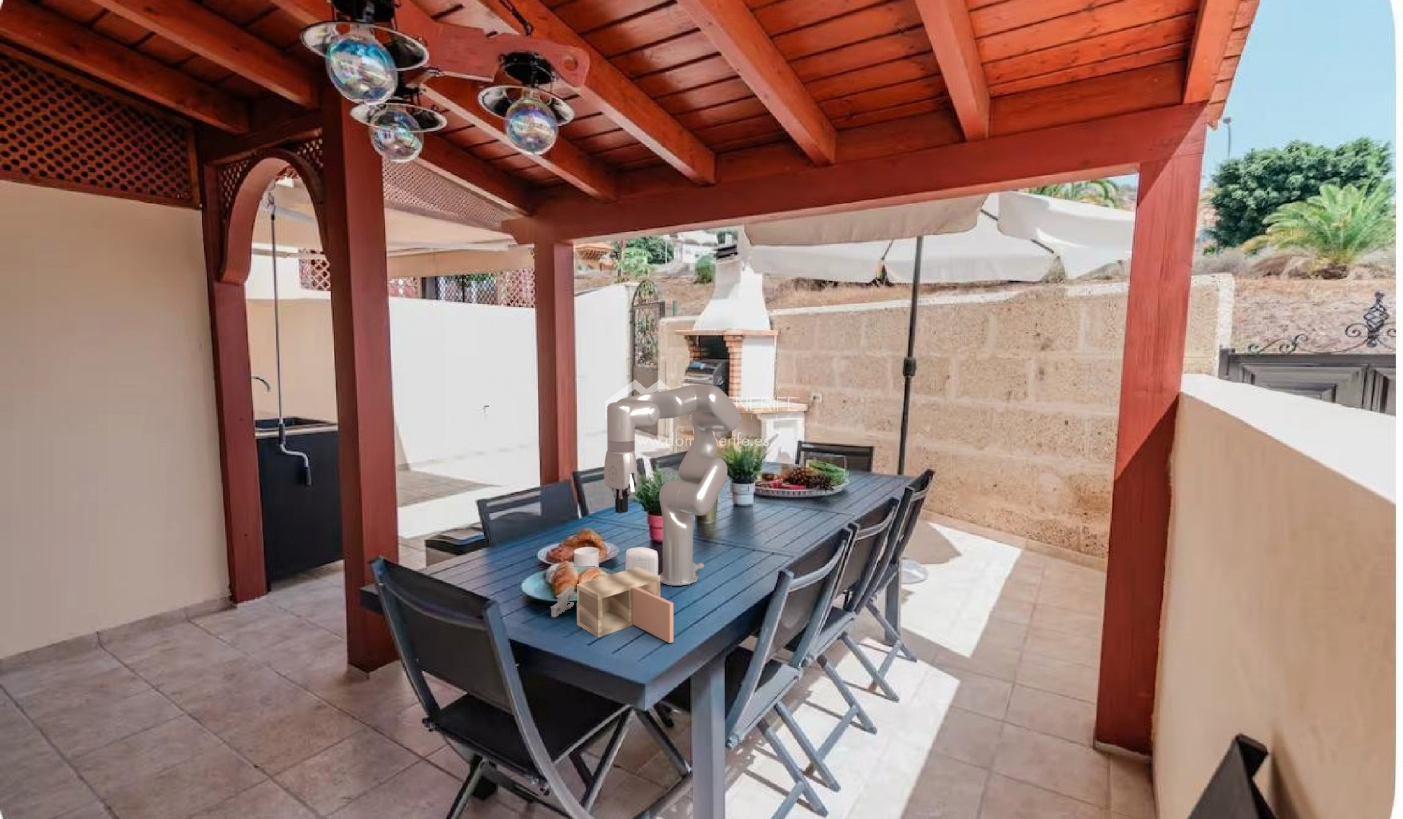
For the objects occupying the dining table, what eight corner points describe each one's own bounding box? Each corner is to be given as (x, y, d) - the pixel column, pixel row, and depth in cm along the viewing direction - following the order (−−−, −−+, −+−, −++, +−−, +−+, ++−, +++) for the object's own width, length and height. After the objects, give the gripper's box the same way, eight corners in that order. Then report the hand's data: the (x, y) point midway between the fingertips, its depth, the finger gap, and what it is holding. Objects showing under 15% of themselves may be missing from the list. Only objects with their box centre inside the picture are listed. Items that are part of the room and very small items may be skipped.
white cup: (601, 577, 200) (600, 546, 199) (597, 586, 192) (597, 554, 191) (576, 577, 200) (575, 547, 199) (571, 586, 192) (571, 555, 191)
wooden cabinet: (638, 604, 178) (637, 566, 177) (663, 616, 170) (663, 577, 169) (577, 625, 165) (576, 584, 164) (601, 639, 156) (601, 596, 155)
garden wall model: (555, 618, 169) (555, 597, 168) (549, 617, 169) (549, 596, 169) (579, 602, 180) (579, 582, 179) (574, 601, 181) (574, 581, 180)
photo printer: (659, 586, 193) (659, 546, 192) (656, 591, 188) (655, 551, 187) (627, 583, 195) (627, 544, 194) (623, 588, 191) (623, 548, 189)
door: (632, 623, 164) (632, 587, 163) (639, 621, 166) (639, 585, 165) (669, 643, 153) (669, 604, 152) (677, 640, 155) (677, 601, 154)
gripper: (594, 445, 176) (595, 509, 177) (626, 451, 165) (626, 519, 167) (616, 442, 181) (617, 505, 183) (648, 448, 170) (648, 515, 172)
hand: (621, 512), depth 175 cm, fingers closed
